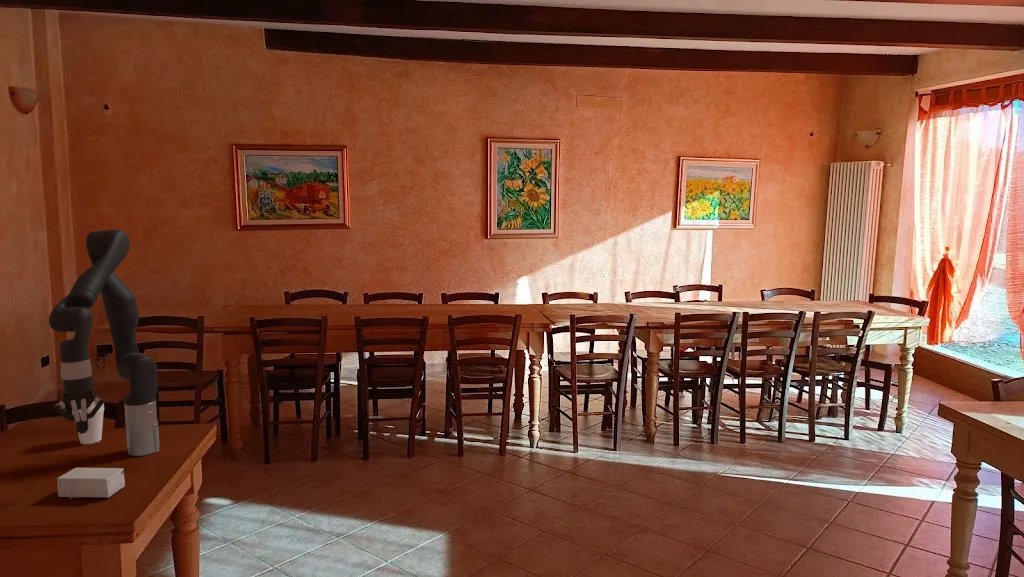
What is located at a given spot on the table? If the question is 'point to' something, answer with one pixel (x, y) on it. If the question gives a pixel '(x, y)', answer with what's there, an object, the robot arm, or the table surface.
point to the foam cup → (93, 426)
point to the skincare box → (91, 482)
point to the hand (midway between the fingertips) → (82, 432)
